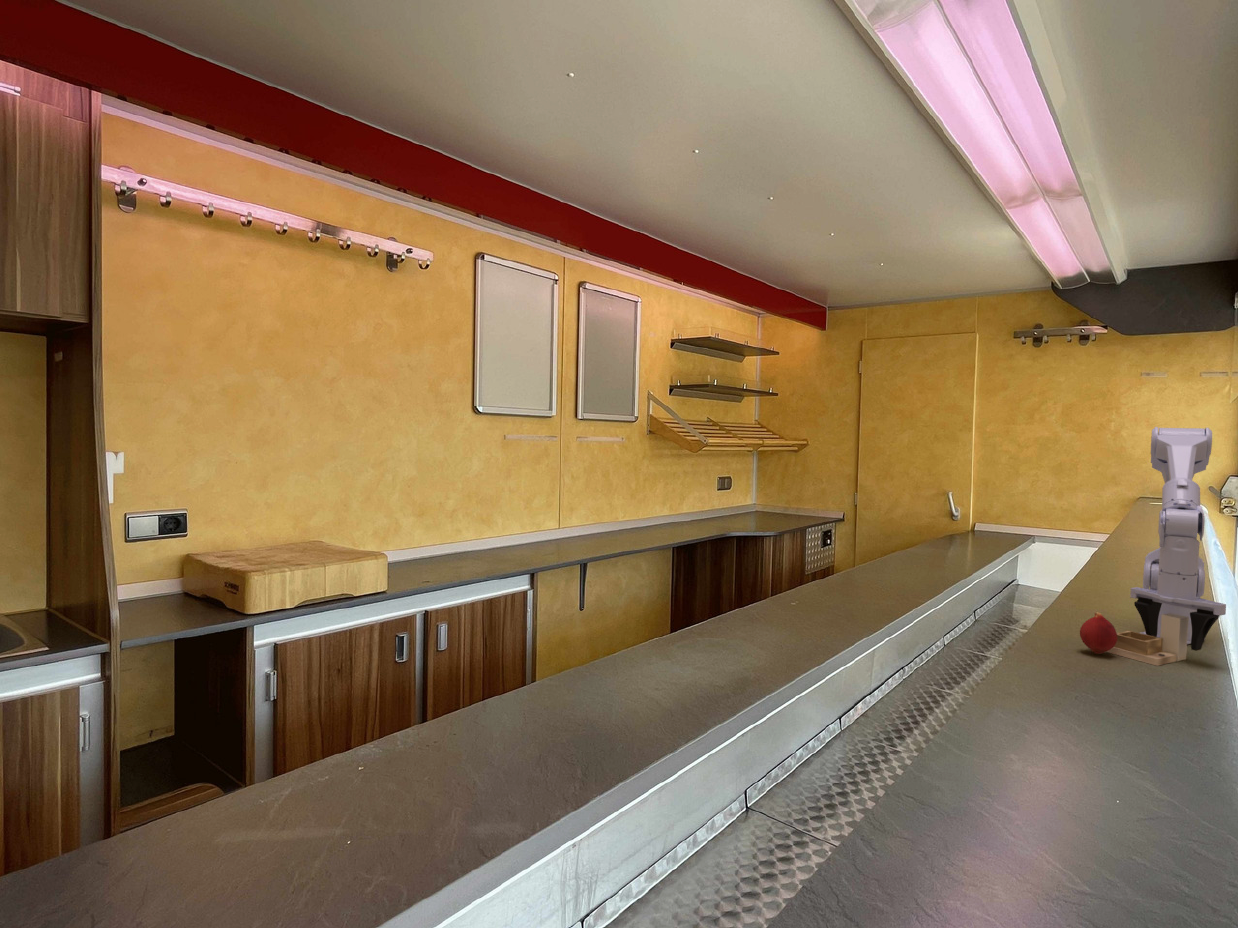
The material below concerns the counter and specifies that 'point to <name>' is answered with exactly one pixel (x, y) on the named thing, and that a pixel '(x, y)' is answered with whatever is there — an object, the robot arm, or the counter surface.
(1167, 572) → the robot arm
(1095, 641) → the onion
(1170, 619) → the post
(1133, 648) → the bracket
